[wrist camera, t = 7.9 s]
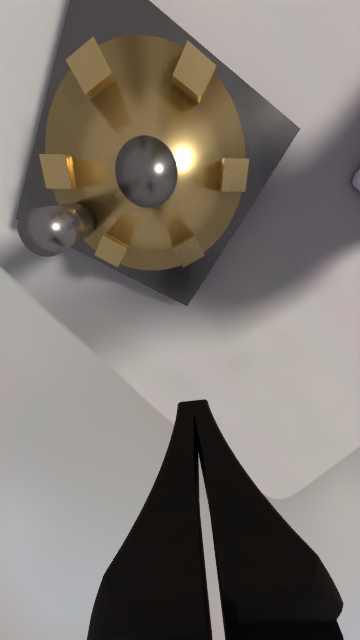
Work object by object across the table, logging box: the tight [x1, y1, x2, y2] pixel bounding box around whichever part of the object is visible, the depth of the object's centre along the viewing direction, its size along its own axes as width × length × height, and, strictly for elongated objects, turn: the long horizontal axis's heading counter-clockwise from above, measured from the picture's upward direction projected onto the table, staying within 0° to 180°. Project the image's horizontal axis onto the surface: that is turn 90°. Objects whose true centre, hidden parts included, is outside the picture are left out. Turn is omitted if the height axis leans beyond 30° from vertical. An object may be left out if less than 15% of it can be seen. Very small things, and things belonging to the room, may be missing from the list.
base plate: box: [16, 0, 300, 306], centre depth 15 cm, size 12×12×2 cm
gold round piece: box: [18, 35, 249, 270], centre depth 11 cm, size 10×10×6 cm
